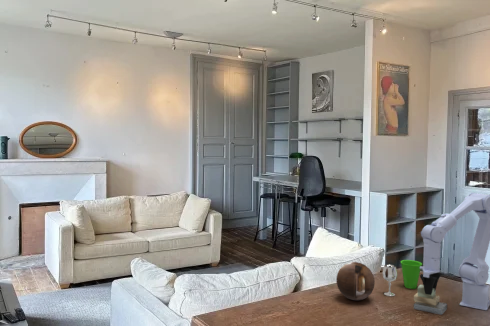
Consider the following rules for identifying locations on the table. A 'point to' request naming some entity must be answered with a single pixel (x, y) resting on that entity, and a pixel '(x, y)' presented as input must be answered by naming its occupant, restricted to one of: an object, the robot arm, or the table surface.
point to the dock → (431, 307)
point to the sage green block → (426, 296)
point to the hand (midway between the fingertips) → (430, 292)
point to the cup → (410, 273)
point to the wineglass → (389, 276)
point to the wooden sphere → (355, 281)
